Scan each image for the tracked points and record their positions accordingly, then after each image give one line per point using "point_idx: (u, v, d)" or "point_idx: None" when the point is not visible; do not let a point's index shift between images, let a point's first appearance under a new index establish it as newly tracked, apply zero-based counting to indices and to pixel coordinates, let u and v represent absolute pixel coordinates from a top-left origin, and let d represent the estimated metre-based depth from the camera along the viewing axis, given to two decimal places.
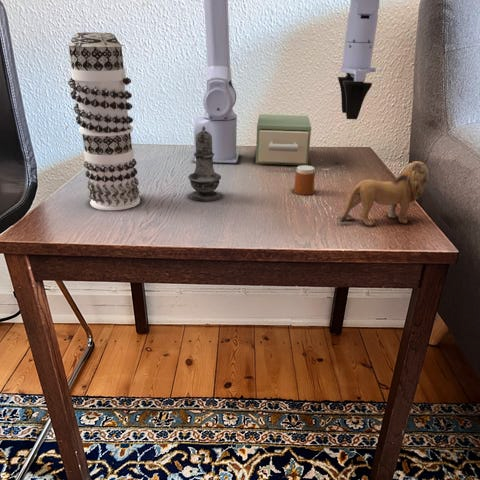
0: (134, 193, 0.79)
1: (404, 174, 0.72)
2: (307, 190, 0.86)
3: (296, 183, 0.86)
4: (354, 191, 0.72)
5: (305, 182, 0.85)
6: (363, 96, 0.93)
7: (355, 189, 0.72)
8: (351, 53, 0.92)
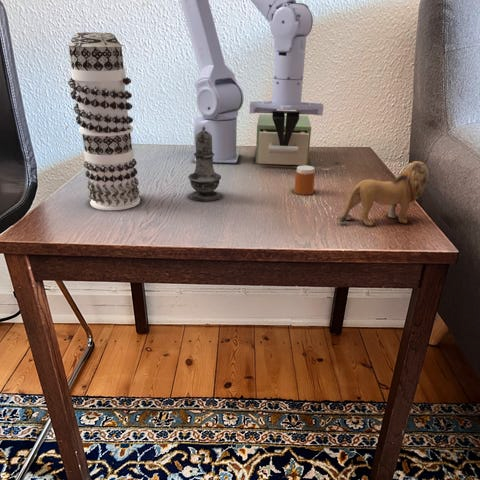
0: (134, 193, 0.79)
1: (404, 174, 0.72)
2: (307, 190, 0.86)
3: (296, 183, 0.86)
4: (354, 191, 0.72)
5: (305, 182, 0.85)
6: (276, 129, 0.94)
7: (355, 189, 0.72)
8: None
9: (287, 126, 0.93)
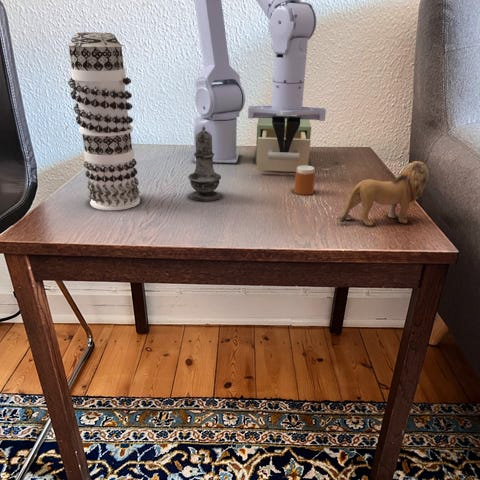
0: (134, 193, 0.79)
1: (404, 174, 0.72)
2: (307, 190, 0.86)
3: (296, 183, 0.86)
4: (354, 191, 0.72)
5: (305, 182, 0.85)
6: (276, 135, 0.89)
7: (355, 189, 0.72)
8: None
9: (287, 132, 0.88)
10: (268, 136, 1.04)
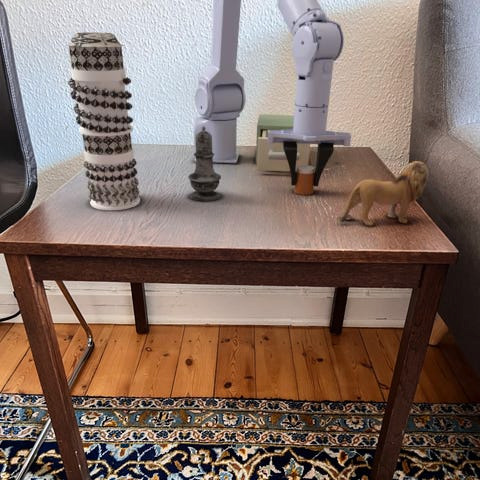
0: (134, 193, 0.79)
1: (404, 174, 0.72)
2: (307, 190, 0.86)
3: (296, 183, 0.86)
4: (354, 191, 0.72)
5: (306, 182, 0.85)
6: None
7: (355, 189, 0.72)
8: None
9: (320, 158, 0.82)
10: None
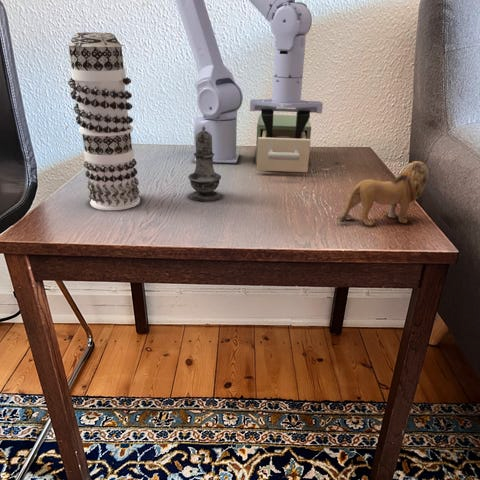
0: (134, 193, 0.79)
1: (404, 174, 0.72)
2: None
3: None
4: (354, 191, 0.72)
5: None
6: (265, 126, 0.95)
7: (355, 189, 0.72)
8: None
9: (298, 124, 0.94)
10: None
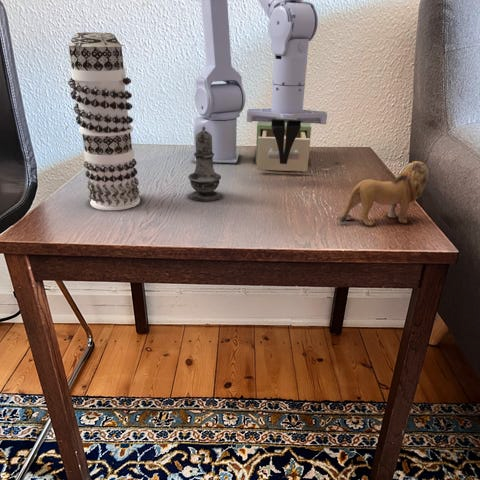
0: (134, 193, 0.79)
1: (404, 174, 0.72)
2: None
3: None
4: (354, 191, 0.72)
5: None
6: None
7: (355, 189, 0.72)
8: None
9: (287, 136, 0.85)
10: (268, 135, 1.04)
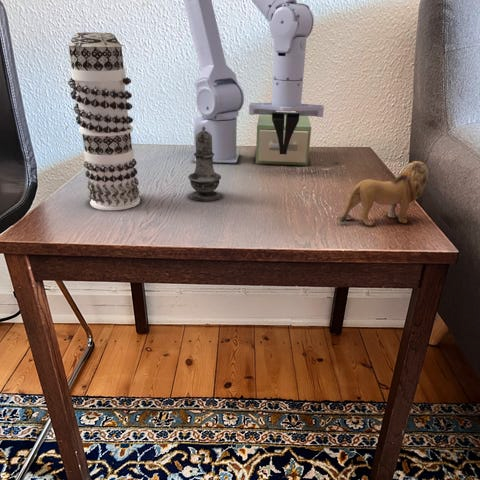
0: (134, 193, 0.79)
1: (404, 174, 0.72)
2: None
3: None
4: (354, 191, 0.72)
5: None
6: (276, 131, 0.93)
7: (355, 189, 0.72)
8: None
9: (287, 128, 0.92)
10: (269, 129, 1.10)
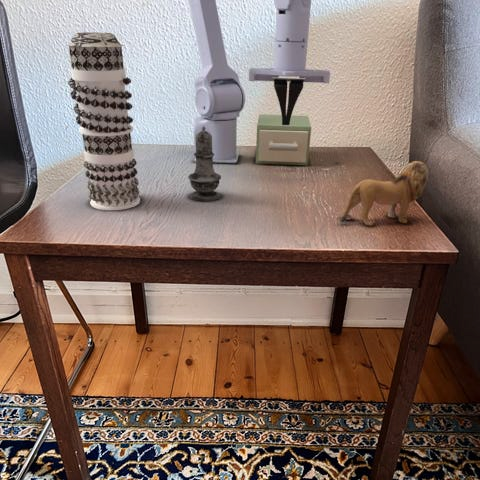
0: (134, 193, 0.79)
1: (404, 174, 0.72)
2: None
3: None
4: (354, 191, 0.72)
5: None
6: (278, 99, 0.85)
7: (355, 189, 0.72)
8: None
9: (290, 95, 0.84)
10: (269, 129, 1.10)
